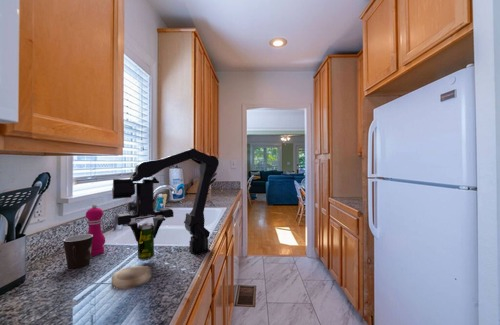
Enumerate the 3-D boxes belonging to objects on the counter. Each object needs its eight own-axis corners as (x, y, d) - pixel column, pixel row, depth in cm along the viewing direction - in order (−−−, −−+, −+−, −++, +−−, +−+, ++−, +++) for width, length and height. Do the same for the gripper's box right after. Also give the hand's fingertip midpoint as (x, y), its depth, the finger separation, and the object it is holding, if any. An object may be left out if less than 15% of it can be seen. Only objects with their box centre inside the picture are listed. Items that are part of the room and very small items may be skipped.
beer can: (138, 256, 87) (138, 223, 87) (154, 254, 89) (153, 222, 89) (137, 262, 82) (136, 227, 82) (153, 259, 84) (153, 225, 84)
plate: (145, 268, 81) (145, 262, 81) (156, 280, 73) (155, 273, 73) (108, 278, 74) (108, 272, 74) (115, 293, 66) (115, 285, 66)
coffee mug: (76, 260, 89) (75, 234, 89) (98, 260, 89) (98, 234, 89) (49, 275, 78) (48, 244, 78) (74, 275, 77) (74, 244, 77)
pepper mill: (100, 248, 102) (100, 202, 102) (108, 252, 98) (108, 203, 98) (81, 254, 96) (80, 204, 96) (88, 257, 92) (88, 206, 92)
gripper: (163, 192, 98) (164, 230, 98) (111, 196, 86) (112, 240, 86) (173, 194, 89) (174, 236, 89) (117, 200, 78) (118, 248, 77)
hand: (145, 239), depth 86 cm, fingers closed on beer can, 5 cm apart
